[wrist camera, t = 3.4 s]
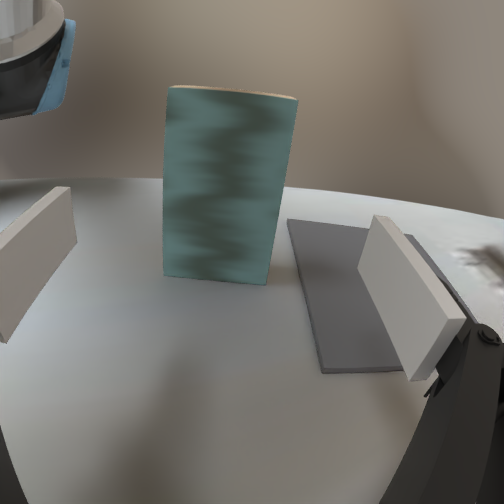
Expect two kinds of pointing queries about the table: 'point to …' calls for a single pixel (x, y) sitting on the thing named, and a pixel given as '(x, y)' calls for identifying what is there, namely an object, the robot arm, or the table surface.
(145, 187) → the table surface
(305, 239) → the mat
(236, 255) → the tile
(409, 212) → the table surface
